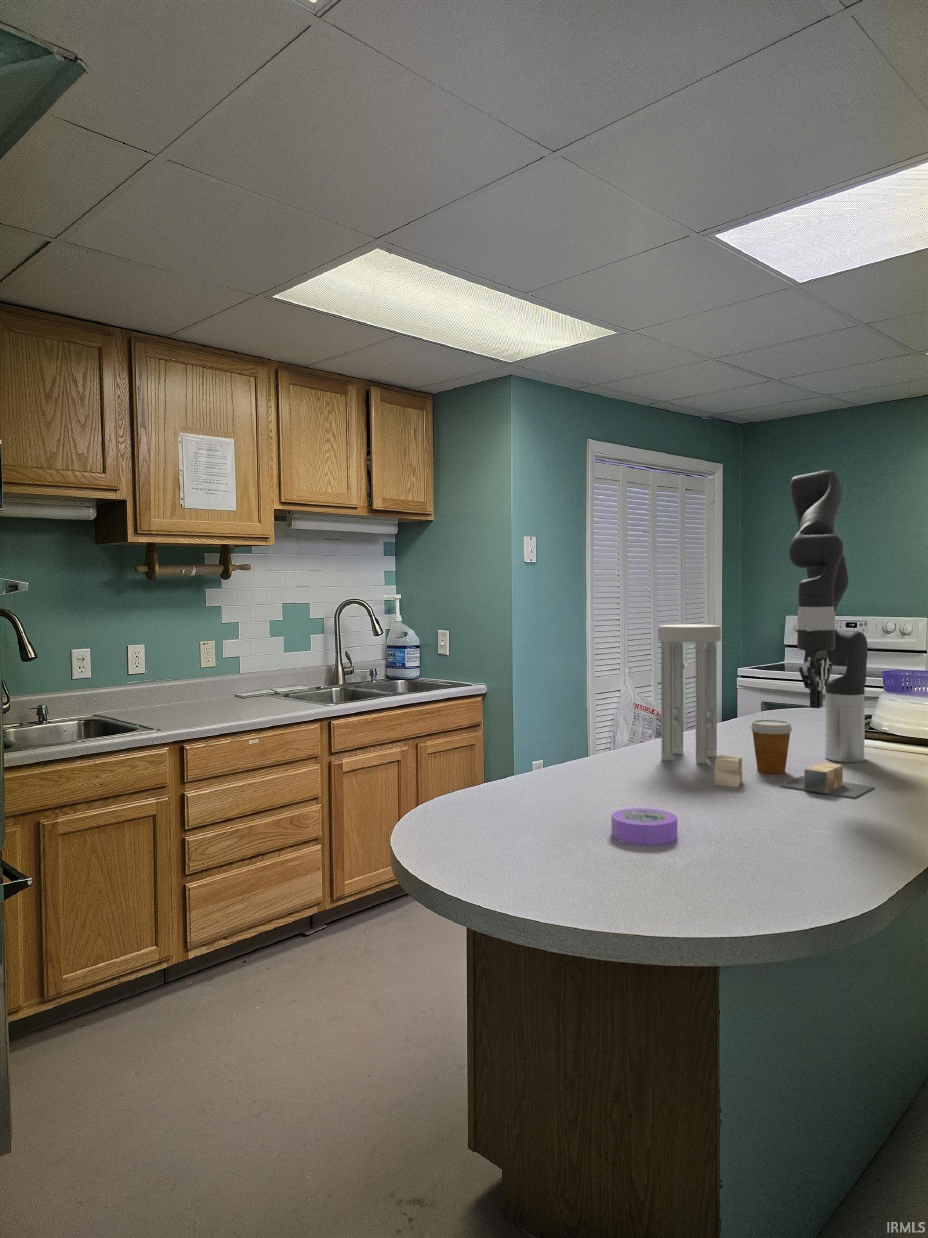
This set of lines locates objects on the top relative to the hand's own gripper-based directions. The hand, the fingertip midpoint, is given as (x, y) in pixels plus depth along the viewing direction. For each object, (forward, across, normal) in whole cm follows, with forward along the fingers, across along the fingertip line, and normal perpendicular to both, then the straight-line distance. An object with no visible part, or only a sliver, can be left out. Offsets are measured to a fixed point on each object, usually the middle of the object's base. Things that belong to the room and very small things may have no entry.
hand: (816, 707), depth 176 cm
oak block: (+16, 0, 0) cm, 16 cm away
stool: (+19, -16, -39) cm, 46 cm away
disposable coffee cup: (+19, -14, -16) cm, 28 cm away
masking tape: (+19, +51, -11) cm, 56 cm away
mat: (+19, -6, 0) cm, 20 cm away
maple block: (+19, +4, -18) cm, 26 cm away
